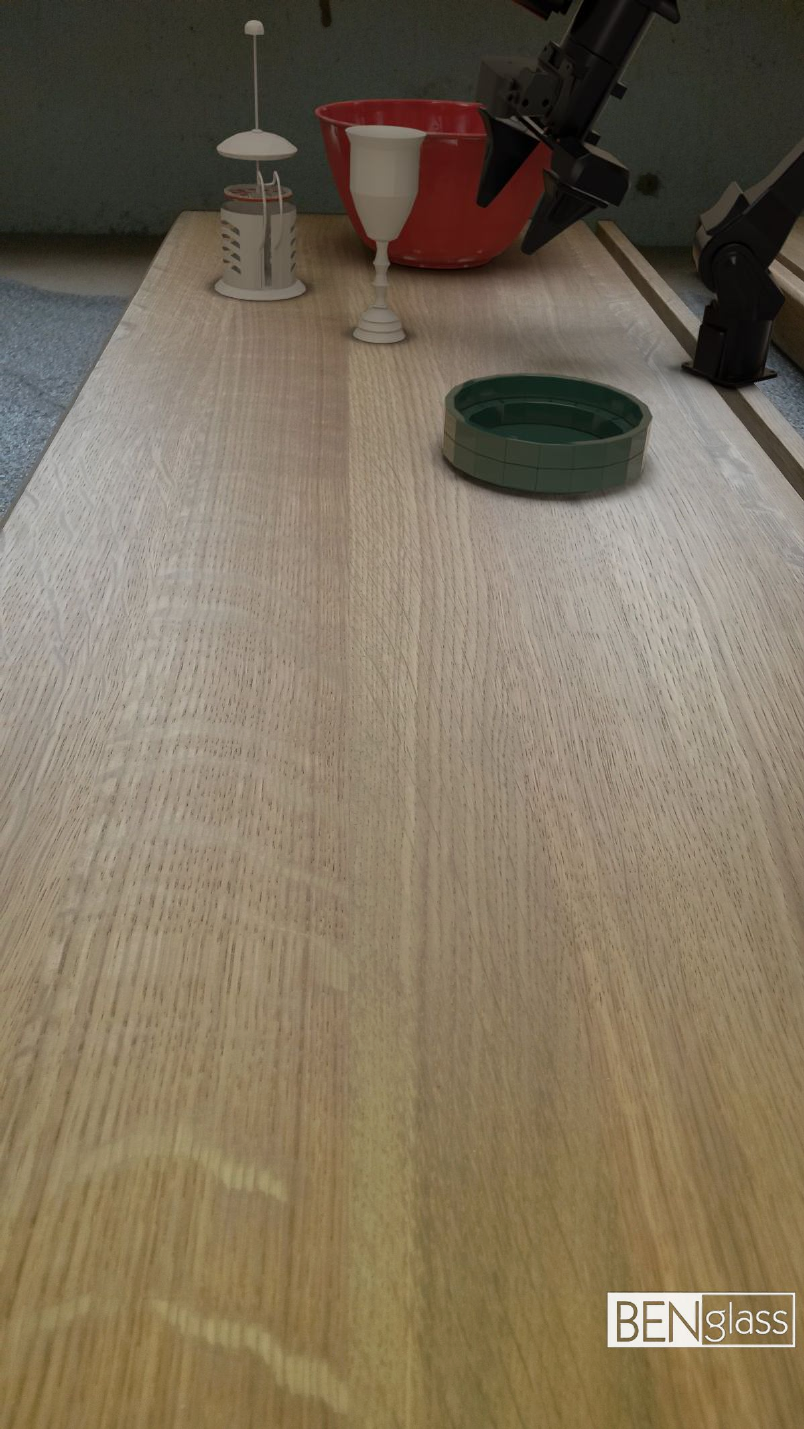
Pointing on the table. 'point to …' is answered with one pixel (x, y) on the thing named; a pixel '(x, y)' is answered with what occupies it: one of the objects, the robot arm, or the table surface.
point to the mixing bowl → (439, 181)
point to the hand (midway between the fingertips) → (501, 229)
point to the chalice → (383, 208)
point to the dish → (545, 432)
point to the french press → (259, 218)
